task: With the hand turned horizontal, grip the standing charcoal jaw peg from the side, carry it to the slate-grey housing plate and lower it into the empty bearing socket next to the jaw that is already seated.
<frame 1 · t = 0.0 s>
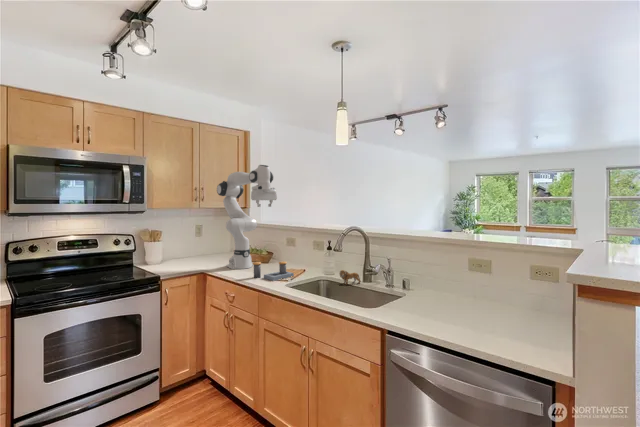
hand: (264, 206, 237), 48 cm above the worktop, tool pointing down, fingers open, 8 cm apart
lion figurine: (350, 284, 206), on the worktop
housing: (278, 277, 224), on the worktop
jaw peg: (257, 277, 225), on the worktop
seated jaw: (282, 276, 227), resting in housing
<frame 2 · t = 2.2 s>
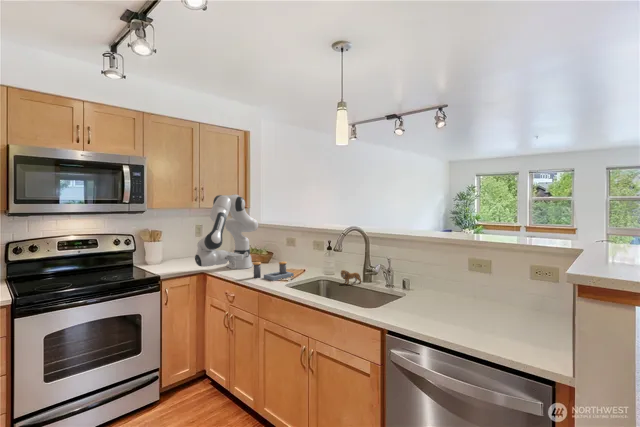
hand: (241, 254, 216), 17 cm above the worktop, tool horizontal, fingers open, 8 cm apart
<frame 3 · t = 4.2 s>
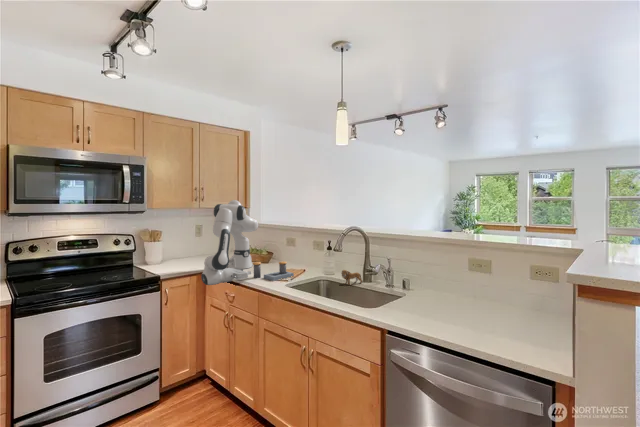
hand: (246, 271, 219), 5 cm above the worktop, tool horizontal, fingers open, 8 cm apart
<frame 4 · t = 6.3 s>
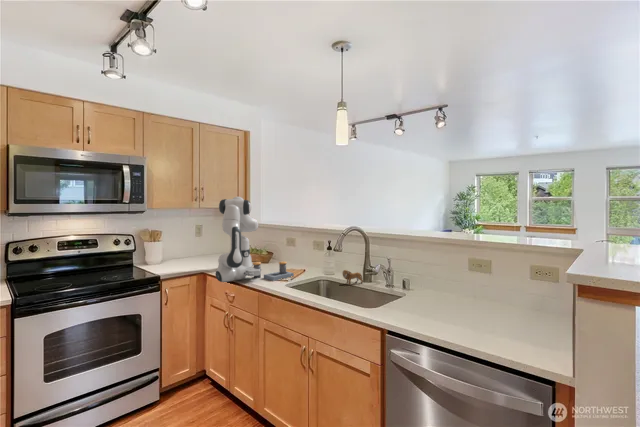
hand: (258, 269, 225), 6 cm above the worktop, tool horizontal, fingers closed on jaw peg, 5 cm apart
jaw peg: (257, 277, 225), on the worktop, touching gripper
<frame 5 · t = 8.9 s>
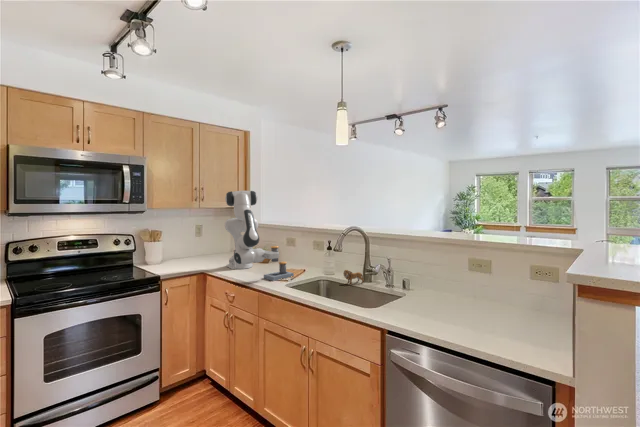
hand: (275, 252, 222), 17 cm above the worktop, tool horizontal, fingers closed on jaw peg, 5 cm apart
jaw peg: (274, 261, 222), point 12 cm above the worktop, touching gripper
when the fingers open (7 cm above the worktop, at t = 11.5 s): jaw peg drops 2 cm, resting in housing.
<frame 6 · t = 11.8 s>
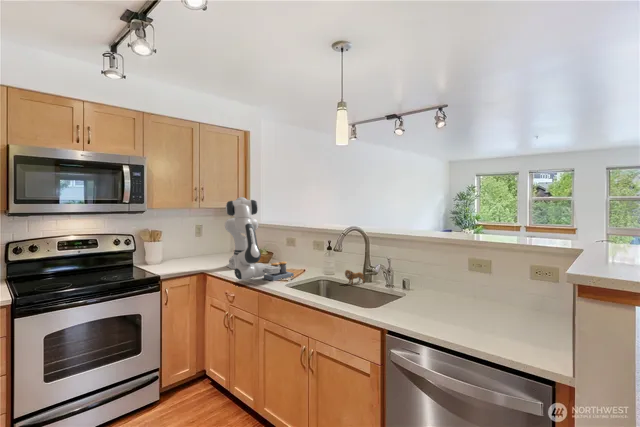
hand: (276, 266, 223), 7 cm above the worktop, tool horizontal, fingers open, 7 cm apart
jaw peg: (275, 278, 222), resting in housing
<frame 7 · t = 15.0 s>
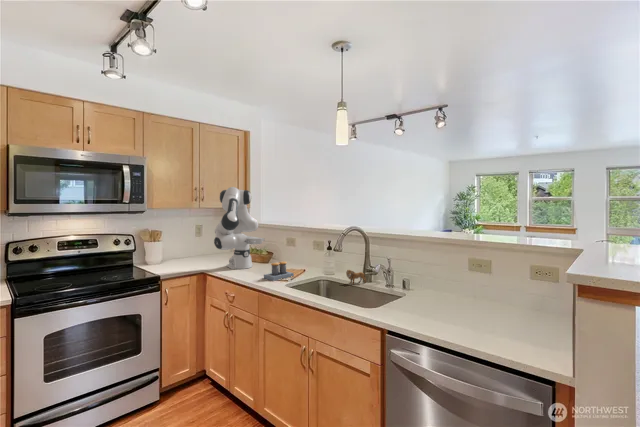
hand: (259, 238, 213), 28 cm above the worktop, tool horizontal, fingers open, 8 cm apart
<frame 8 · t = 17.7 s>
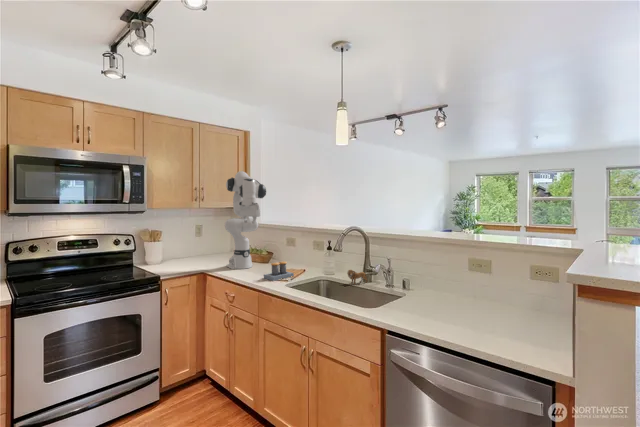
hand: (249, 223, 222), 37 cm above the worktop, tool pointing down, fingers open, 8 cm apart
at the end: jaw peg 0.1 cm from the target spot on the housing, point 0.0 cm above the housing's base; jaw peg tilted 0°; seated jaw moved 0.0 cm from its start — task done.
